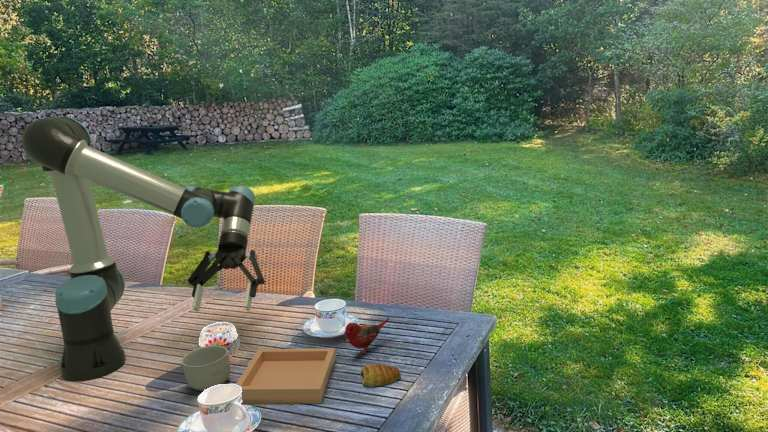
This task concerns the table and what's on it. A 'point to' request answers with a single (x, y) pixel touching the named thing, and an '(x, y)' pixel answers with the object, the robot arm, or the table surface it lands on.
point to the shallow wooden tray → (287, 375)
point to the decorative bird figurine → (362, 334)
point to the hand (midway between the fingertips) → (221, 309)
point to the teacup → (206, 366)
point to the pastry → (379, 375)
